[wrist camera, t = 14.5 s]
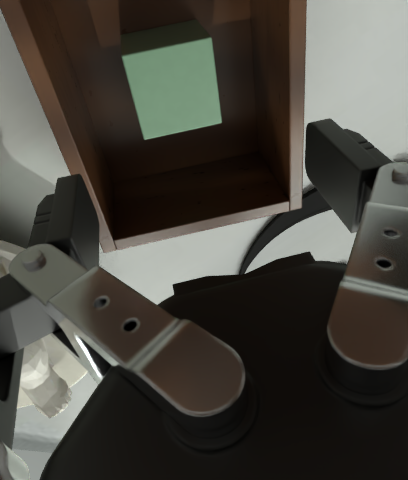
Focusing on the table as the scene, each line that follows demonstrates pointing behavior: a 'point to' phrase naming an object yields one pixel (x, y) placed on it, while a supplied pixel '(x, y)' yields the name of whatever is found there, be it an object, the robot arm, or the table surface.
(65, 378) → the sculpture
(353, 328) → the robot arm
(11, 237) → the table surface
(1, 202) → the table surface
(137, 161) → the case
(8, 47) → the table surface
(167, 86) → the block
